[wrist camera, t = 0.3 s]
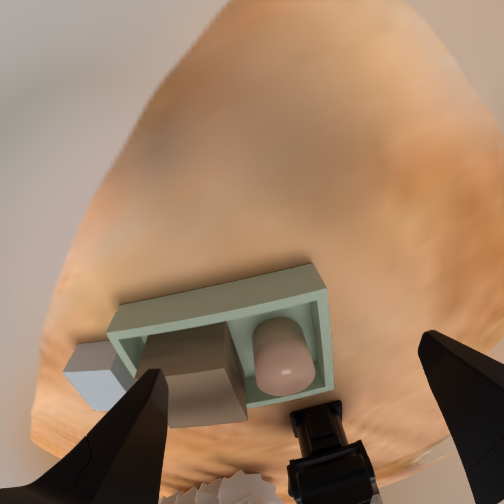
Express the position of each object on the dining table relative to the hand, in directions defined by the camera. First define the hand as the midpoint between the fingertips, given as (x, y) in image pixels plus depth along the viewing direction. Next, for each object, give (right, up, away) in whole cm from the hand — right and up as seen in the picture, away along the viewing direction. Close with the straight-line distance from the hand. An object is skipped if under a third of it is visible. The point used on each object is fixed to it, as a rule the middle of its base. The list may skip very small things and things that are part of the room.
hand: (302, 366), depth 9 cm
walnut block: (-6, -6, +17) cm, 19 cm away
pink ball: (+1, -4, +17) cm, 17 cm away
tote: (-4, -4, +17) cm, 18 cm away
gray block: (-16, -8, +18) cm, 26 cm away
